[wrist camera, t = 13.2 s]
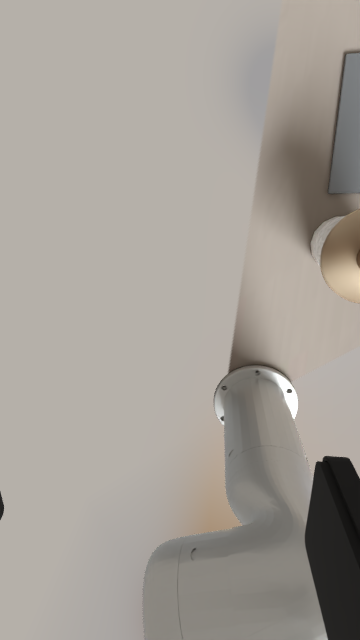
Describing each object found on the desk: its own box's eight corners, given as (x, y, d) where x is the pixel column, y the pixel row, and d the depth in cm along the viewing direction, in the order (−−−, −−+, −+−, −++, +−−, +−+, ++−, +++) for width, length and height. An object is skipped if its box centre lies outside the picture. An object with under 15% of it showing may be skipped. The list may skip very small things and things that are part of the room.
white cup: (383, 227, 41) (431, 236, 32) (346, 283, 44) (380, 306, 35) (327, 200, 41) (359, 200, 32) (293, 257, 44) (313, 273, 35)
